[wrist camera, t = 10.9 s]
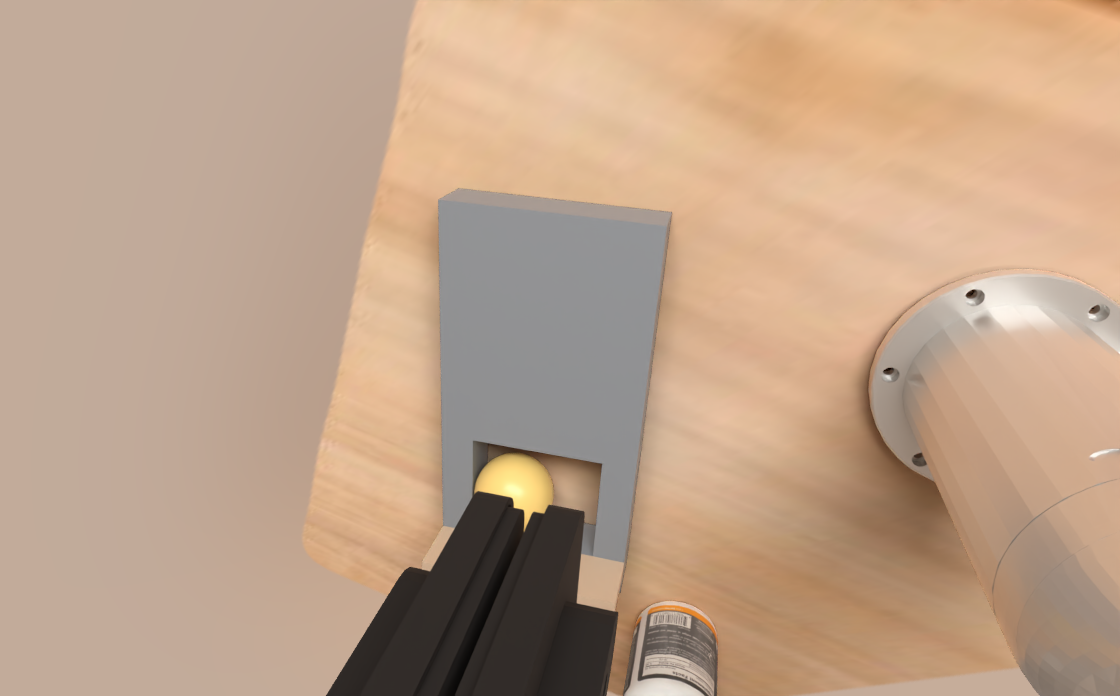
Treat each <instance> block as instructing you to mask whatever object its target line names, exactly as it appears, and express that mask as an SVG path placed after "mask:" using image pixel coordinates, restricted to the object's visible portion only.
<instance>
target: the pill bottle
mask: <svg viewBox="0 0 1120 696" xmlns="http://www.w3.org/2000/svg"><path fill="white" fill-rule="evenodd" d="M717 656H718V639H717V632H716V628H715V626H714V624H713V622H712V621H711V620H710V619H709V617H708V616H707V615H706V614H705V613H704V612H702V611H701V610H700V609H698V608H696V607H694V606H692V605H690V604H687V603H683V602H678V601H663V602H659V603H655V604H653V605H651V606H649V607H647V608H646V609H645V610H643V611H642V613H641V614H640V615H639V617H638V619H637V621H636V624H635V629H634V633H633V640H632V646H631V652H630V657H629V663H628V669H627V675H626V680H625V687H624V692H623V696H717V663H718V662H717V661H718V657H717Z"/></svg>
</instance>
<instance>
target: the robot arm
mask: <svg viewBox="0 0 1120 696" xmlns="http://www.w3.org/2000/svg"><path fill="white" fill-rule="evenodd" d="M973 289H975V292H974V293H973V294H972V295H971V296H966V294H967V293H968V292H969V291H971V290H973ZM1094 306H1096V307H1095V308H1094V309H1093V310H1091V311H1090V309H1091V308H1092V307H1094ZM887 368H892V369H891V370H890V371H886V372H885V371H883V370H885V369H887ZM868 393H869V401H870V409H871V412H872V415H873V418H874V421H875V424H876V427H877V429H878V431H879V432H880V434H881V436H882V438H883V440H884V442H885V444H886V445H887V446H888V447H889V448H890V450H891V451H892V452H893V453H894V454H895V456H896V457H897V458H898V459H899V460H900V461H902V462H903V463H904V464H905V465H906V466H907V467H909V468H910V469H911V470H913V471H915V472H916V473H918V474H920V475H922V476H924V477H926V478H928V479H930V480H931V481H934V482H935V483H936V486H937V488H938V490H939V492H940V494H941V497H942V499H943V501H944V503H945V506H946V508H947V510H948V512H949V515H950V517H951V519H952V521H953V523H954V526H955V528H956V530H957V532H958V535H959V537H960V539H961V541H962V544H963V546H964V548H965V550H966V553H967V555H968V557H969V559H970V561H971V564H972V566H973V568H974V570H975V573H976V575H977V577H978V579H979V582H980V584H981V586H982V588H983V590H984V593H985V595H986V597H987V599H988V602H989V604H990V606H991V608H992V611H993V613H994V615H995V617H996V619H997V622H998V624H999V626H1000V628H1001V631H1002V633H1003V635H1004V637H1005V639H1006V641H1007V644H1008V646H1009V648H1010V650H1011V652H1012V654H1013V656H1014V658H1015V660H1016V662H1017V664H1018V665H1019V667H1020V669H1021V671H1022V672H1023V674H1024V675H1025V677H1026V678H1027V679H1028V681H1029V682H1030V684H1031V685H1032V686H1033V688H1034V689H1035V690H1036V692H1037V693H1038V694H1039V695H1040V696H1120V306H1119V304H1117V303H1116V302H1115V301H1113V300H1112V299H1111V298H1109V297H1108V296H1107V295H1105V294H1104V293H1102V292H1101V291H1100V290H1098V289H1096V288H1094V287H1092V286H1090V285H1088V284H1086V283H1084V282H1083V281H1081V280H1079V279H1076V278H1073V277H1069V276H1066V275H1063V274H1059V273H1056V272H1052V271H1043V270H1035V269H1006V270H996V271H991V272H986V273H981V274H977V275H972V276H969V277H966V278H964V279H961V280H958V281H956V282H953V283H950V284H948V285H945V286H944V287H942V288H940V289H938V290H937V291H935V292H933V293H931V294H930V295H928V296H926V297H924V298H923V299H921V300H920V301H919V302H918V303H916V304H915V305H914V306H913V307H912V308H910V309H909V310H908V311H907V312H905V313H904V314H903V315H902V316H901V317H900V319H899V320H898V321H897V322H896V323H895V324H894V325H893V327H892V328H891V329H890V330H889V331H888V333H887V334H886V336H885V338H884V339H883V341H882V343H881V345H880V346H879V348H878V350H877V352H876V355H875V358H874V361H873V364H872V367H871V370H870V377H869V387H868ZM917 453H919V454H917ZM583 529H584V511H579V510H574V509H569V508H564V507H559V506H553V505H548V506H547V508H546V511H545V513H539V512H533V513H532V515H531V517H530V519H529V521H528V524H527V526H526V529H525V531H524V510H523V509H518V508H514V502H513V498H511V497H507V496H502V495H497V494H491V493H486V492H481V491H477V492H476V493H475V494H474V495H473V497H472V499H471V500H470V502H469V504H468V506H467V507H466V509H465V511H464V513H463V515H462V516H461V518H460V520H459V522H458V523H457V525H456V527H455V529H454V530H453V532H452V534H451V536H450V537H449V539H448V541H447V543H446V544H445V546H444V548H443V550H442V551H441V553H440V555H439V557H438V559H437V560H436V562H435V564H434V566H433V567H432V569H431V571H427V570H422V569H417V568H413V567H409V568H408V569H406V570H405V571H404V572H403V573H402V575H401V576H400V577H399V579H398V580H397V582H396V583H395V585H394V587H393V588H392V590H391V592H390V593H389V595H388V596H387V598H386V600H385V601H384V603H383V604H382V606H381V608H380V609H379V611H378V613H377V614H376V616H375V617H374V619H373V621H372V622H371V624H370V626H369V627H368V629H367V630H366V632H365V634H364V635H363V637H362V639H361V640H360V642H359V643H358V645H357V647H356V648H355V650H354V651H353V653H352V655H351V656H350V658H349V659H348V661H347V663H346V664H345V666H344V668H343V669H342V671H341V672H340V674H339V676H338V677H337V679H336V680H335V682H334V684H333V685H332V687H331V689H330V690H329V692H328V694H327V695H326V696H606V695H607V689H608V683H609V677H610V671H611V665H612V658H613V651H614V644H615V636H616V628H617V619H618V612H615V611H610V610H606V609H601V608H596V607H592V606H587V605H583V604H578V603H577V594H578V583H579V572H580V561H581V551H582V540H583Z"/></svg>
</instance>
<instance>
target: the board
mask: <svg viewBox="0 0 1120 696" xmlns="http://www.w3.org/2000/svg"><path fill="white" fill-rule="evenodd" d="M438 209H439V277H440V345H441V414H442V482H443V527H442V528H441V530H440V532H439V534H438V535H437V537H436V539H435V540H434V542H433V544H432V545H431V547H430V549H429V550H428V552H427V554H426V555H425V557H424V559H423V560H422V570H427V571H431V569H432V567H433V566H434V564H435V562H436V560H437V559H438V557H439V555H440V553H441V551H442V550H443V548H444V546H445V544H446V543H447V541H448V539H449V537H450V536H451V534H452V532H453V530H454V529H455V527H456V525H457V523H458V522H459V520H460V518H461V516H462V515H463V513H464V511H465V509H466V507H467V506H468V504H469V502H470V500H471V499H472V497H473V495H474V490H475V484H476V481H477V478H478V476H479V474H480V472H481V471H482V469H483V468H484V467H485V466H486V464H487V463H488V443H490V444H496V445H501V446H507V447H512V448H518V449H523V450H529V451H535V452H540V453H546V454H551V455H557V456H562V457H568V458H573V459H579V460H585V461H590V462H596V463H601V464H602V471H601V480H600V490H599V500H598V510H597V520H596V525H591V524H586V523H584V529H583V540H582V551H581V561H580V572H579V583H578V594H577V603H578V604H583V605H587V606H592V607H596V608H601V609H606V610H610V611H615V610H616V605H617V601H618V596H619V593H620V592H621V587H622V582H623V577H624V573H625V568H626V563H627V556H628V548H629V540H630V533H631V525H632V517H633V509H634V502H635V494H636V486H637V478H638V471H639V463H640V455H641V448H642V440H643V432H644V424H645V417H646V409H647V401H648V393H649V386H650V378H651V370H652V362H653V355H654V347H655V339H656V331H657V324H658V316H659V308H660V300H661V293H662V285H663V277H664V269H665V262H666V254H667V246H668V239H669V231H670V223H671V215H672V212H664V211H655V210H646V209H637V208H629V207H620V206H611V205H602V204H593V203H584V202H575V201H566V200H557V199H548V198H539V197H531V196H522V195H513V194H504V193H495V192H486V191H477V190H468V189H459V188H458V189H457V190H455V191H453V192H451V193H449V194H448V195H446V196H444V197H442V198H440V199H439V200H438Z"/></svg>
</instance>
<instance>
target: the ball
mask: <svg viewBox="0 0 1120 696" xmlns="http://www.w3.org/2000/svg"><path fill="white" fill-rule="evenodd" d="M477 491H481V492H486V493H491V494H497V495H502V496H507V497H511V498H513V502H514V508H518V509H523V510H524V531H525V529H526V526H527V524H528V521H529V519H530V517H531V515H532V513H533V512H539V513H545V511H546V508H547V506H548V505H552V503H553V498H554V489H553V483H552V479H551V477H550V474H549V473H548V471H547V469H546V468H545V467H544V466H543V465H542V464H541V463H540V462H539V461H538V460H536V459H535V458H533V457H531V456H529V455H526V454H522V453H507V454H503V455H500V456H498V457H496V458H494V459H493V460H491V461H490V462H489V463H488V464H486V466H485V467H484V468H483V469H482V471H481V472H480V474H479V476H478V478H477V481H476V484H475V490H474V494H475V493H476V492H477Z"/></svg>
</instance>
